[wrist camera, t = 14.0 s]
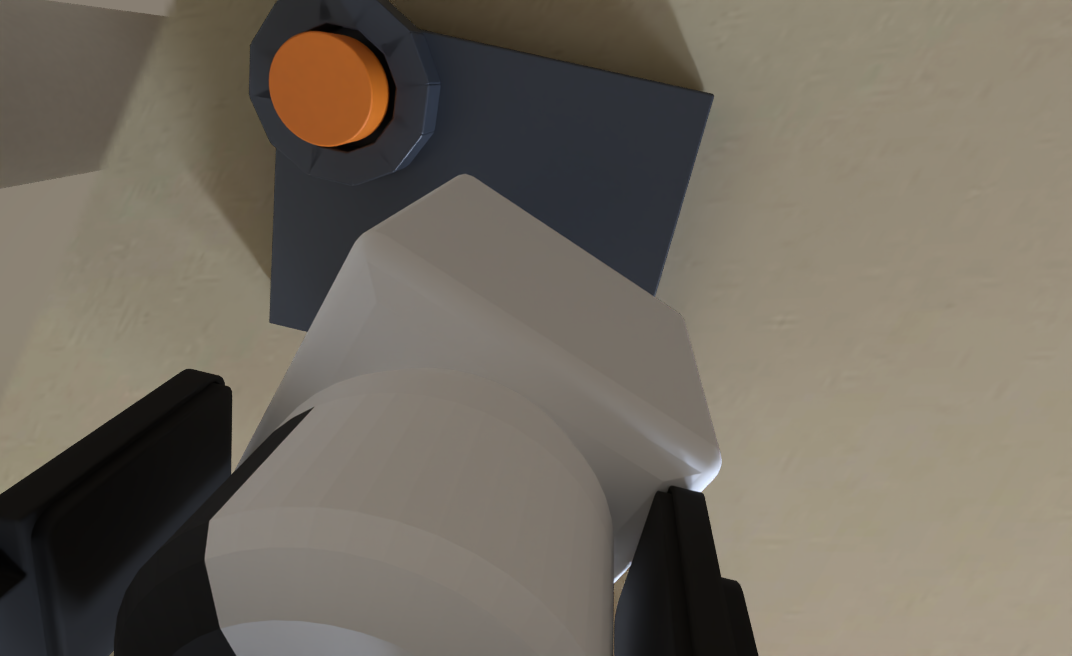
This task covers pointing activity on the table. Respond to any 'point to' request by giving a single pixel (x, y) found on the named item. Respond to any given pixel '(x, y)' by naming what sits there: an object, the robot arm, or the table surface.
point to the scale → (474, 148)
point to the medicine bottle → (442, 456)
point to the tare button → (328, 88)
